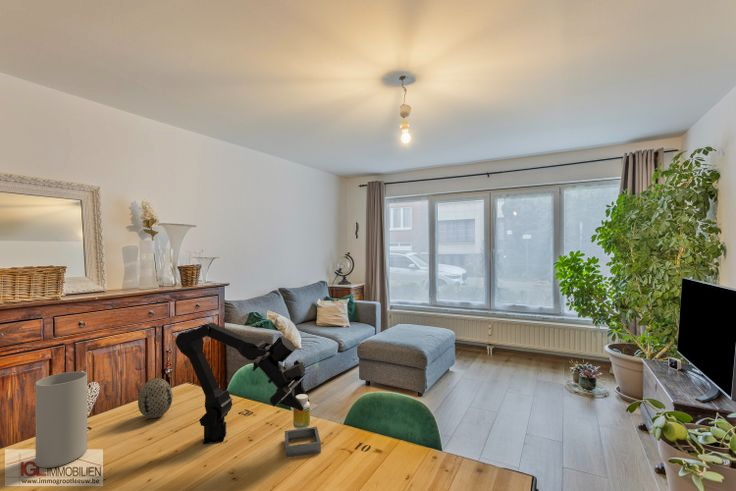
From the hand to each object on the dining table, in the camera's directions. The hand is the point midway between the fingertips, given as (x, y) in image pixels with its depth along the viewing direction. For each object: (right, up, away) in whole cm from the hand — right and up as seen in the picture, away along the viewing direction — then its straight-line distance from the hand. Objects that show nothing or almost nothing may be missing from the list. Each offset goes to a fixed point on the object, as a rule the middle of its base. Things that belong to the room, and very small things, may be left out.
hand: (305, 406), depth 119 cm
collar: (-1, -13, 0) cm, 13 cm away
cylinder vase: (-76, -14, -5) cm, 78 cm away
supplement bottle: (-1, -7, 0) cm, 7 cm away
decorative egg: (-63, -14, +22) cm, 68 cm away
